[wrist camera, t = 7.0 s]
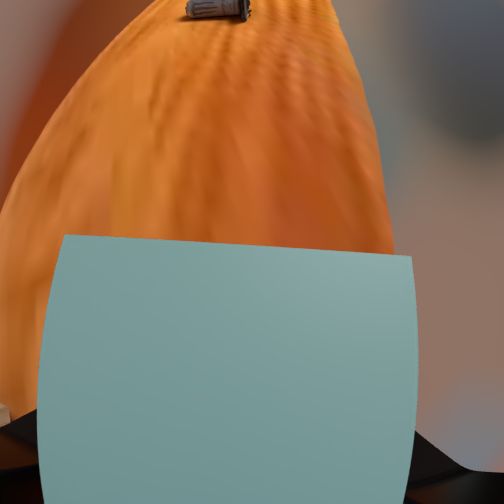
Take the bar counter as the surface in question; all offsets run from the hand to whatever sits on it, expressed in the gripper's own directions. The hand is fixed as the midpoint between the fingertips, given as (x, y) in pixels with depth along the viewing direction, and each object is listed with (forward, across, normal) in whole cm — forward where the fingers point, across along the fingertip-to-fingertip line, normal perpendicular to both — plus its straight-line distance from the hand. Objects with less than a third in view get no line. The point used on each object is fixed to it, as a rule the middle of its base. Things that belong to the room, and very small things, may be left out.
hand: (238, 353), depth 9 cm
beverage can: (+49, +9, -30) cm, 59 cm away
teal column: (+4, 0, +6) cm, 7 cm away
